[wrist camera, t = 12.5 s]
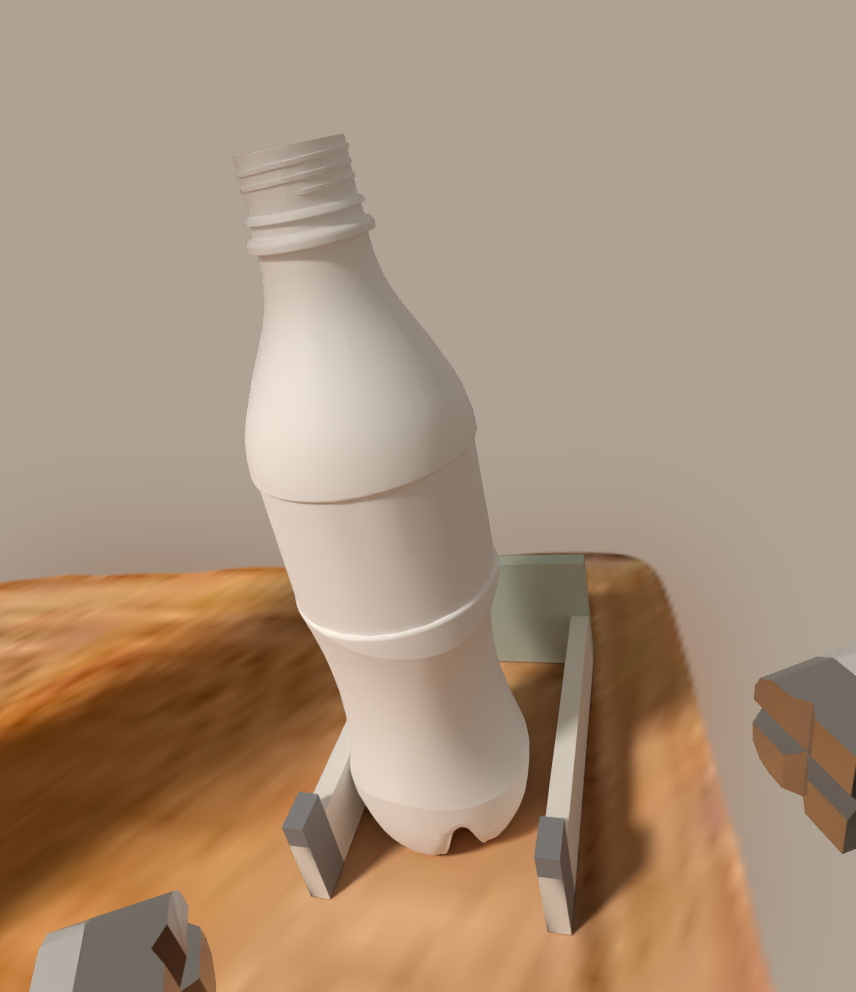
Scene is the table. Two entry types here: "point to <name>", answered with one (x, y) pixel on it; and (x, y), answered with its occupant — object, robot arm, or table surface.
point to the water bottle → (378, 507)
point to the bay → (555, 639)
